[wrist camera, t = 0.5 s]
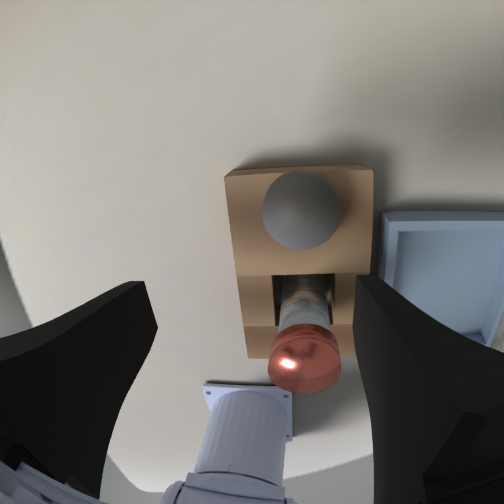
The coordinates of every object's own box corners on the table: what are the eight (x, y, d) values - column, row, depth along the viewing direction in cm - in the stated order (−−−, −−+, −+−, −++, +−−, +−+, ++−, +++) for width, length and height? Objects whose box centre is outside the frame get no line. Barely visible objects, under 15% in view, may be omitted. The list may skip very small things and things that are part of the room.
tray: (480, 334, 21) (489, 348, 19) (366, 348, 22) (370, 365, 20) (511, 212, 16) (526, 221, 14) (380, 211, 18) (389, 221, 16)
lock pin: (328, 304, 21) (337, 392, 14) (279, 306, 22) (270, 393, 14) (329, 261, 20) (344, 342, 12) (277, 262, 20) (265, 344, 13)
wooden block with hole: (355, 338, 22) (361, 367, 19) (251, 340, 23) (245, 369, 20) (365, 163, 17) (379, 172, 14) (230, 169, 18) (218, 179, 15)
